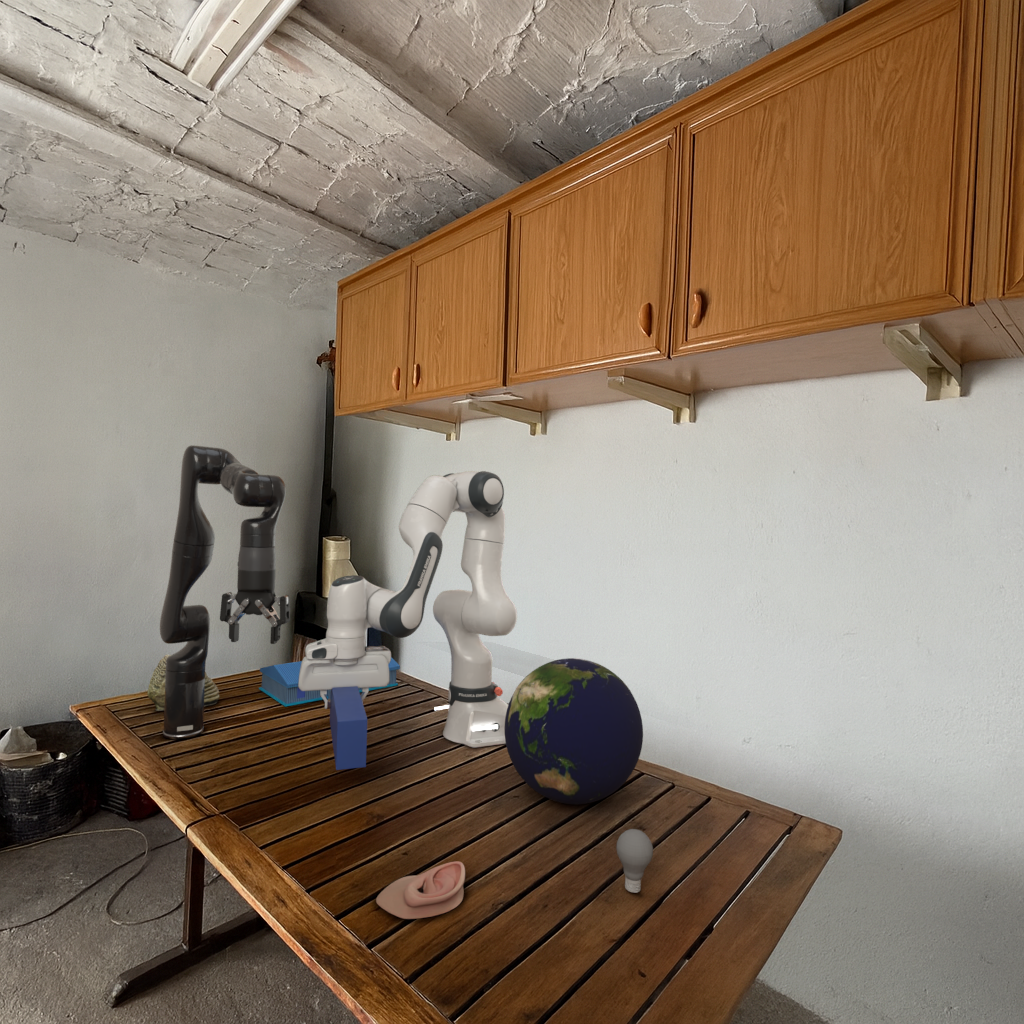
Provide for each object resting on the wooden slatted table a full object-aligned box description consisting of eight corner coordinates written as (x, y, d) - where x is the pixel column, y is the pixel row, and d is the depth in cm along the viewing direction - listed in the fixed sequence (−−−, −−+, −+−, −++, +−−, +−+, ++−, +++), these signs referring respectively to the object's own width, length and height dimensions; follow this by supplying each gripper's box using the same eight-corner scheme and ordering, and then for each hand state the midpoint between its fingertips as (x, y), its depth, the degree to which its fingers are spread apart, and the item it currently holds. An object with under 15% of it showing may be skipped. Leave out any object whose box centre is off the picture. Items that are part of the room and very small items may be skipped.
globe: (478, 811, 130) (485, 666, 129) (529, 759, 158) (535, 639, 157) (623, 847, 119) (630, 688, 118) (650, 784, 146) (656, 655, 146)
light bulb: (610, 879, 108) (613, 822, 108) (644, 879, 109) (647, 822, 109) (619, 902, 102) (622, 840, 102) (655, 901, 103) (658, 840, 103)
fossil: (144, 707, 182) (145, 655, 182) (212, 696, 194) (213, 647, 194) (151, 716, 175) (153, 662, 175) (221, 703, 188) (223, 653, 188)
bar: (366, 767, 124) (367, 719, 124) (336, 770, 122) (337, 721, 122) (354, 718, 150) (355, 678, 150) (329, 720, 149) (330, 679, 148)
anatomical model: (368, 886, 97) (397, 847, 108) (367, 912, 97) (396, 870, 108) (451, 901, 94) (471, 859, 106) (450, 928, 94) (470, 883, 106)
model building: (289, 709, 186) (291, 675, 185) (258, 688, 204) (259, 657, 204) (403, 687, 212) (405, 657, 212) (366, 670, 230) (368, 643, 230)
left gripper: (296, 567, 140) (293, 640, 140) (232, 564, 140) (229, 637, 140) (283, 570, 132) (280, 648, 132) (215, 567, 132) (212, 644, 133)
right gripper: (389, 642, 151) (387, 699, 152) (299, 645, 145) (297, 705, 145) (393, 648, 145) (391, 708, 146) (299, 652, 139) (297, 714, 139)
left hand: (254, 642), depth 136 cm, fingers open, 8 cm apart
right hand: (343, 707), depth 145 cm, fingers closed on bar, 5 cm apart
